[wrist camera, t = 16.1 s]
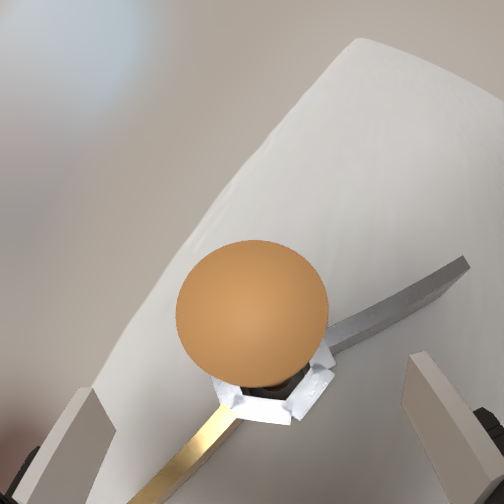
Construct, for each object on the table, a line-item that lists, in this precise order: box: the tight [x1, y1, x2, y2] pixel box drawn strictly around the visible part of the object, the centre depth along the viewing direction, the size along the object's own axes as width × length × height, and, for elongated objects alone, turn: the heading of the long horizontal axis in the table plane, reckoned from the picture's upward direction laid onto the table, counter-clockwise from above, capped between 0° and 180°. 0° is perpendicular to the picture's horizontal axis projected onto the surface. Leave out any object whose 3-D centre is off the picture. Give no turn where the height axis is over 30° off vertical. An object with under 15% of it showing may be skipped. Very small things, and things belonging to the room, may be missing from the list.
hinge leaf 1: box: [127, 367, 308, 504], centre depth 19 cm, size 8×21×6 cm, turn 141°
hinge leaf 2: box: [209, 255, 470, 425], centre depth 22 cm, size 20×8×6 cm, turn 111°
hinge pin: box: [176, 240, 328, 391], centre depth 16 cm, size 4×4×17 cm
